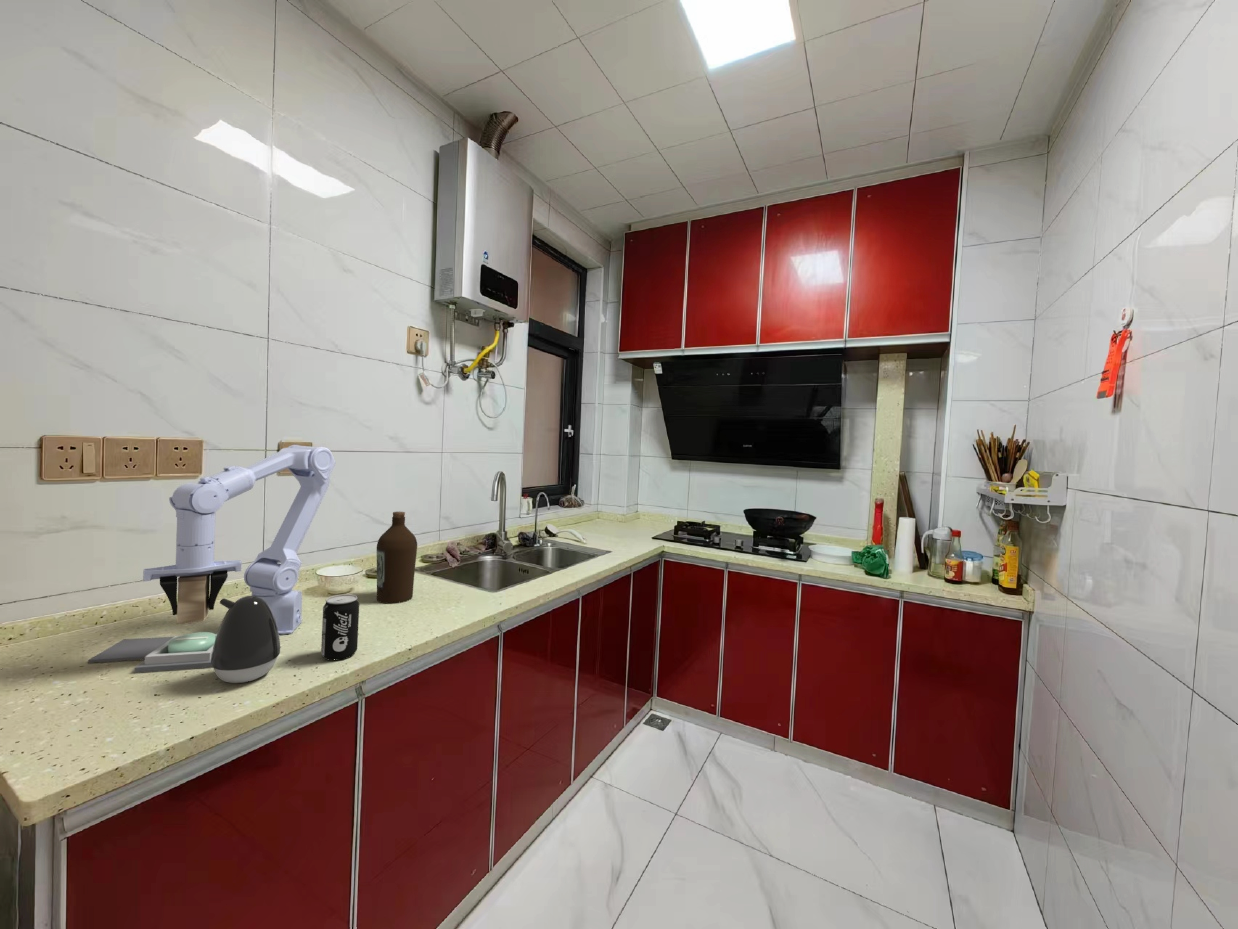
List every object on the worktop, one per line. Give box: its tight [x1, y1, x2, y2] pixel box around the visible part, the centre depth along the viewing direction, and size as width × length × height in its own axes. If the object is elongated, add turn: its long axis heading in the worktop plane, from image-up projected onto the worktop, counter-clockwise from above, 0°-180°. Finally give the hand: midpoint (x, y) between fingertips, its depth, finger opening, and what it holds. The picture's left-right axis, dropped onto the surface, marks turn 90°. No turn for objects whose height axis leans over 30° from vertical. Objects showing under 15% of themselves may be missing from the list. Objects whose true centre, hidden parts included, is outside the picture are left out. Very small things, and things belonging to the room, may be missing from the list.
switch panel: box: [133, 633, 217, 674], centre depth 95 cm, size 12×12×2 cm
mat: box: [87, 636, 175, 664], centre depth 96 cm, size 10×10×1 cm
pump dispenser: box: [211, 595, 281, 684], centre depth 89 cm, size 10×10×15 cm
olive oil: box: [376, 511, 418, 604], centre depth 136 cm, size 11×11×25 cm
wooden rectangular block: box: [176, 574, 210, 625], centre depth 95 cm, size 4×4×9 cm
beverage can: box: [320, 593, 360, 661], centre depth 100 cm, size 7×7×12 cm
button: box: [168, 631, 216, 653], centre depth 95 cm, size 7×7×3 cm
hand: (193, 610), depth 95 cm, fingers closed on wooden rectangular block, 5 cm apart
